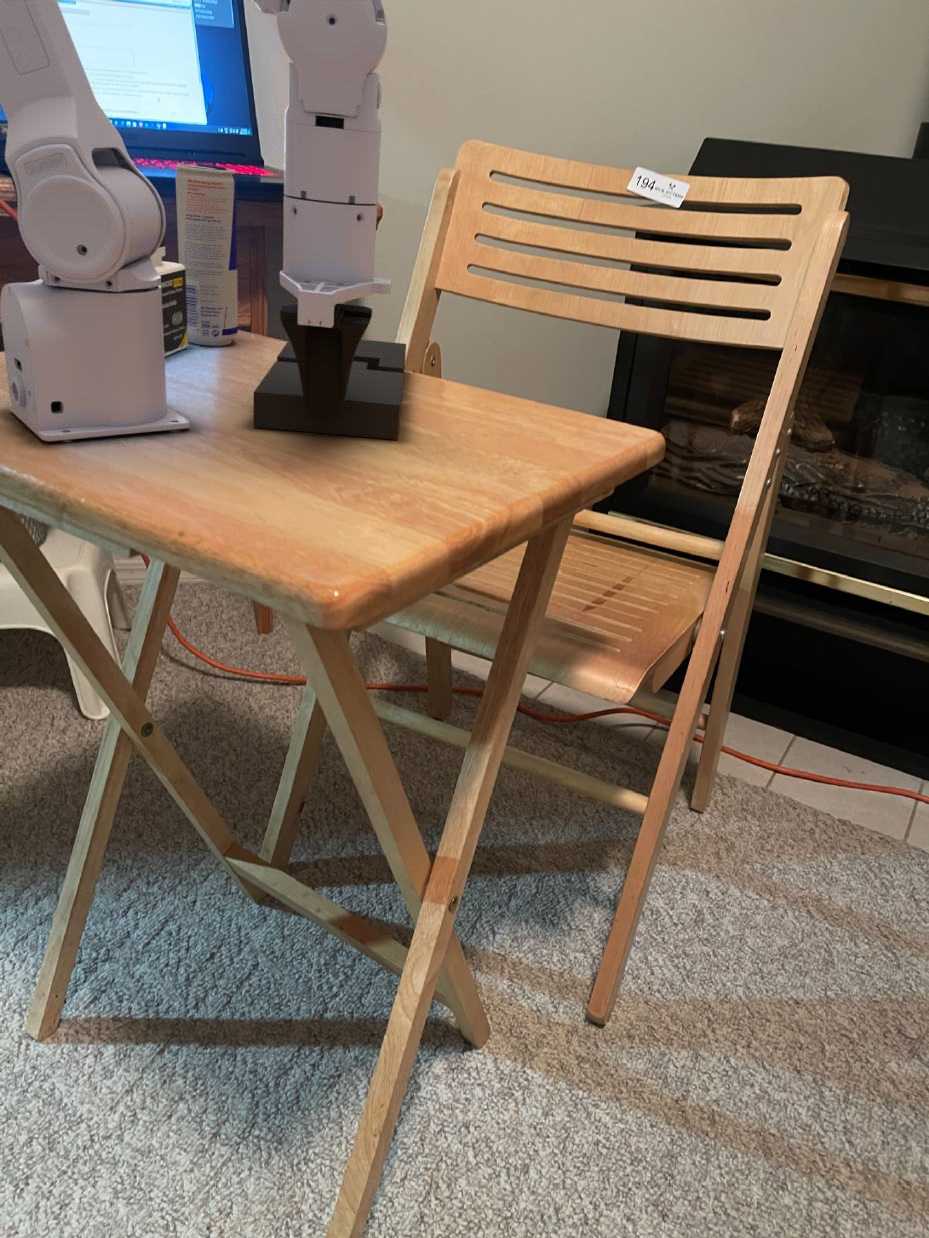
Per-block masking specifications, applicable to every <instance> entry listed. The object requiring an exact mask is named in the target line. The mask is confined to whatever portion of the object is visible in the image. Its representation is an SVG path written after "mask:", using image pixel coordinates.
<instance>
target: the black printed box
mask: <svg viewBox="0 0 929 1238" xmlns="http://www.w3.org/2000/svg"><path fill="white" fill-rule="evenodd" d="M165 234H166V233H165ZM165 234H164V237H163V240H162V242H161V245H160V247H159V248H158V249H157V251H156V252H155V253H154V254H153V255H152V256H151V257H150V259H151V261H152V263H153V266H154V268H155V269H156V271H157V272H158V273H159V275H160V276H161V284H160V286H161V292H162V314H163V336H164V358H165V357H168V356H169V355H172V354H174V353H177V352H179V351H181V350H184V349H187V347H189V338H188V328H187V300H186V272H185V267H184V266H183V265H182V264H179V262H178V263H177V262H171V261H164V260H163V257H165V256H166V238H165V237H166V235H165Z"/></svg>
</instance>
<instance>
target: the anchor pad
mask: <svg viewBox="0 0 929 1238" xmlns="http://www.w3.org/2000/svg"><path fill="white" fill-rule="evenodd" d="M406 353H407V344H406V343H402V342H391V341H381V340H369V339H361V340H360V342H359V344H358V346H357V349H356V352H355V355H354V359H353V361H356V362H367V363H368V370H377V371H388V372H398V373H404V374H405V366H406ZM276 361H280V362H291V363H297V360H296V356H295V353H294V350H293V347H292V344H291V342H290V340H289V339H288V340H287V342H286V343H285V345H284V346H283V348H282V349H281V350H280V352H279V354H278V355H277V356H276Z"/></svg>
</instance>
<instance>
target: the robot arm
mask: <svg viewBox="0 0 929 1238" xmlns="http://www.w3.org/2000/svg"><path fill="white" fill-rule="evenodd" d="M252 2H253V3H254V4H255V6H256V7H257V8H258V10H259V11H260V12H261V13H264V14H268V15H269V14H270V15H274V16H276V26H277V31H278V36H279V39H280V42H281V45H282V47H283V49H284V51H285V53H286V55H287V56H288V58H289V59H290V61H291V62H289V63H288V85H287V86H288V87H287V91H288V93H287V108H286V109H285V111H284V147H283V148H284V149H283V150H284V153H283V155H284V159H283V170H284V171H283V230H282V231H283V235H282V238H283V242H282V246H283V247H282V269H281V270H280V271H279V285H280V286H281V287H282V288H283V289H285V291H287V292H288V293H290V294H291V295H293V297H295V298H296V299H297V303H290V304H288V305H283V306H282V307H281V308H280V309H279V319H280V322H281V325H282V327H283V329H284V331H285V333H286V336H287V338H288V341H289V340H290V342H291V344H292V347H293V350H294V353H295V356H296V360H297V364H298V368H299V373H300V379H301V385H302V391H303V397H304V403H305V407H306V411H307V415H308V418H310V419H320V420H331V421H338V420H339V417H340V414H341V412H342V408H343V405H344V401H345V397H346V392H347V387H348V382H349V377H350V372H351V367H352V363H353V359H354V355H355V352H356V349H357V346H358V344H359V342H360V340H362V338H363V337H364V334H365V332H366V331H367V329H368V326H369V325H370V323H371V320H372V317H373V309H372V308H371V307H369V306H363V305H354V304H346V302H350V301H353V300H356V299H361V298H365V297H369V296H372V295H374V294H381V295H388V294H391V292H392V285H393V284H392V280H391V279H388V278H380V277H374V276H375V257H376V256H375V255H376V233H377V221H378V220H377V219H378V218H377V217H378V216H377V215H378V200H379V182H380V181H379V179H380V159H381V140H382V122H381V119H380V118H379V115H378V114H379V113H378V111H379V109H380V108H381V103H382V83H381V81H380V75H379V74H378V72H375V71H376V69H377V68H378V67H379V65H380V63H381V62H382V59H383V57H384V54H385V52H386V50H387V49H386V48H387V44H388V24H387V17H386V14H385V9H384V6H383V3H382V0H252ZM0 106H1V109H2V110H3V112H4V115H5V117H6V120H7V131H6V132H7V133H6V139H5V141H6V142H5V149H4V161H5V163H6V165H7V167H8V170H9V172H10V174H11V177H12V179H13V182H14V186H15V190H16V196H17V224H18V229H19V232H20V236H21V239H22V241H23V243H24V246H25V247H26V249H27V250H28V252H29V253H30V255H31V256H32V258H33V259H34V260H35V261H36V262H37V263H38V264H39V265H38V266H37V271H38V278H39V279H37V280H33V281H29V282H10V283H7V284H5V285H3V287H2V288H1V293H0V323H1V333H2V341H3V347H4V348H3V349H4V355H5V364H6V372H7V381H8V390H9V397H10V402H9V403H8V409H9V411H11V412H12V414H14V415H15V416H16V417H17V418H18V419H19V420H20V421H22V423H23V424H24V425H25V426H26V427H28V428H29V429H30V430H31V431H32V432H33V433H34V434H35V435H36V436H37V437H38V438H39V439H40V440H42V441H44V442H57V441H68V440H69V441H70V440H78V439H79V440H80V439H90V438H100V437H109V436H111V437H112V436H119V435H120V436H121V435H132V434H141V433H152V432H162V431H173V430H184V429H185V430H186V429H189V428H190V427H191V421H190V420H189V419H187V418H186V417H184V416H183V415H182V414H180V413H178V412H177V411H175V410H174V409H172V408H170V407H169V406H168V403H167V402H168V401H167V383H166V361H165V360H166V359H165V357H164V336H163V314H162V292H161V286H160V284H161V276H160V275H159V273H158V272H157V271H156V269H155V268H154V266H153V263H152V261H151V259H150V257H151V256H152V255H153V254H154V253H155V252H156V251H157V249H158V248H159V247H160V245H161V242H162V240H163V237H164V234H166V227H167V219H166V211H165V206H164V204H163V200H162V198H161V196H160V194H159V193H158V190H157V189H156V187H155V186H154V185H153V183H152V182H151V181H150V180H149V179H148V178H147V177H146V176H145V175H144V174H143V172H141V171H140V170H139V169H138V168H137V166H136V164H135V163H134V162H133V160H132V159H131V157H130V155H129V152H128V151H127V148H126V146H125V143H124V140H123V138H122V136H121V134H120V133H119V131H118V130H117V129H116V127H115V125H114V124H113V123H112V121H111V119H110V118H109V117H108V116H107V114H106V113H105V111H104V110H103V108H102V107H101V106H100V104H99V103H98V101H97V99H96V97H95V94H94V91H93V89H92V87H91V84H90V82H89V78H88V76H87V74H86V71H85V68H84V66H83V64H82V61H81V59H80V56H79V53H78V50H77V48H76V46H75V43H74V41H73V38H72V36H71V33H70V30H69V28H68V26H67V23H66V20H65V17H64V15H63V13H62V10H61V7H60V5H59V2H58V0H0Z"/></svg>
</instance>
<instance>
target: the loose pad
mask: <svg viewBox="0 0 929 1238" xmlns="http://www.w3.org/2000/svg"><path fill="white" fill-rule="evenodd" d="M404 384H405V372H404V373H398V372H388V371H377V370H368V363H367V362H356V361H353V363H352V367H351V372H350V377H349V382H348V387H347V392H346V397H345V401H344V405H343V408H342V412H341V414H340V417H339V420H338V421H331V420H320V419H310V418H308V415H307V411H306V407H305V403H304V397H303V391H302V385H301V379H300V373H299V368H298V364H297V363H291V362H280V361H277V360H276V361H274V363H273V365H271V367H270V369H269V370H268V372H266V374H265V375H264V377H263V379H262V380H261V381H260V383H258V385H257V387H256V388H255V389H254V390H253V427H254V428H259V429H267V430H281V431H292V432H303V433H312V434H313V433H315V434H324V435H325V434H326V435H327V434H328V435H337V436H347V437H348V436H349V437H358V438H360V437H361V438H372V439H383V440H392V441H393V440H394V441H396V440H398V439H399V432H400V425H401V417H402V407H403V399H404Z"/></svg>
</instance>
